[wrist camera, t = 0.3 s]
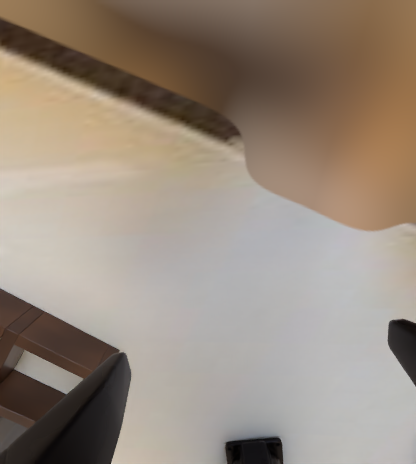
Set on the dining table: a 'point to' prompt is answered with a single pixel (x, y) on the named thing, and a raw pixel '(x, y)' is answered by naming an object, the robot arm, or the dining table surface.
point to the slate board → (9, 432)
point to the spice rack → (45, 346)
